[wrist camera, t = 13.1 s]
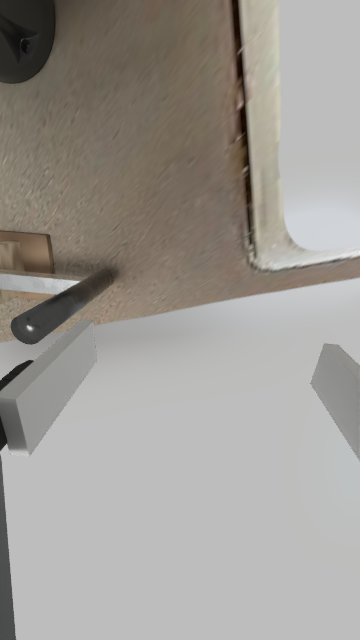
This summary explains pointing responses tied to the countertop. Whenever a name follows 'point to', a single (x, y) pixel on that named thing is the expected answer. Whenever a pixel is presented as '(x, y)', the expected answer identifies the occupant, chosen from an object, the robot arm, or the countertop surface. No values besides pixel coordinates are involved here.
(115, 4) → the countertop surface
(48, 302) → the crank handle
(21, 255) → the bearing stand
